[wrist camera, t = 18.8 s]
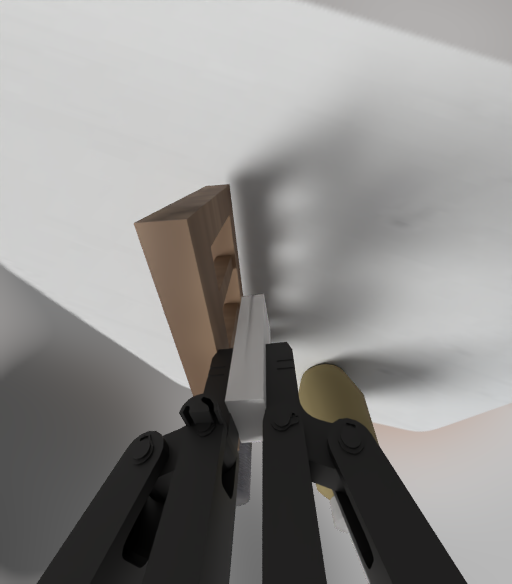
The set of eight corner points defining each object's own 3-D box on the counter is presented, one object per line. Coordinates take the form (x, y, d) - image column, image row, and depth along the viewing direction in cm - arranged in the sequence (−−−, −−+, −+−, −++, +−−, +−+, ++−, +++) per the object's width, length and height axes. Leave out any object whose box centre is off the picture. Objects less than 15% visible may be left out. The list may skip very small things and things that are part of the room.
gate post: (258, 331, 27) (255, 491, 14) (252, 349, 28) (243, 509, 15) (233, 325, 27) (206, 485, 14) (228, 344, 28) (199, 503, 15)
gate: (229, 184, 17) (186, 219, 7) (248, 336, 25) (239, 450, 15) (205, 186, 17) (133, 223, 8) (231, 336, 25) (212, 451, 15)
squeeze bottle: (283, 367, 30) (306, 592, 14) (345, 348, 28) (446, 586, 13) (304, 402, 34) (340, 611, 18) (359, 387, 32) (453, 608, 16)
